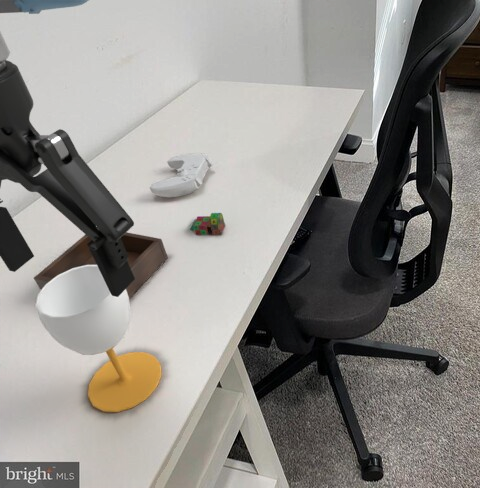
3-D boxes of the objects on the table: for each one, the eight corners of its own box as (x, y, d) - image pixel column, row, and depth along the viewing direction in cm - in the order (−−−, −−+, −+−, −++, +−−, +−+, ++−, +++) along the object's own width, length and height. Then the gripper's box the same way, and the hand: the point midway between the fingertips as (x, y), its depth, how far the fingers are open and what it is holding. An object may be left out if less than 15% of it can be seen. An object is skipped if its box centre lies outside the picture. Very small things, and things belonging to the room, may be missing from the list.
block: (226, 221, 88) (223, 205, 86) (221, 234, 85) (217, 218, 83) (195, 221, 88) (190, 205, 86) (188, 234, 85) (183, 219, 83)
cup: (174, 358, 63) (137, 267, 54) (136, 419, 57) (86, 327, 47) (115, 347, 66) (69, 257, 56) (72, 404, 59) (11, 314, 49)
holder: (114, 315, 71) (105, 295, 68) (44, 297, 75) (33, 277, 72) (168, 257, 81) (161, 238, 78) (103, 244, 85) (95, 226, 82)
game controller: (168, 152, 104) (210, 142, 102) (177, 170, 107) (218, 160, 104) (143, 187, 93) (189, 177, 91) (154, 206, 95) (199, 196, 93)
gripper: (123, 62, 36) (192, 273, 49) (-101, 49, 43) (11, 234, 57) (48, 102, 30) (147, 326, 44) (-193, 78, 38) (-46, 276, 51)
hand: (71, 275), depth 50 cm, fingers open, 13 cm apart
